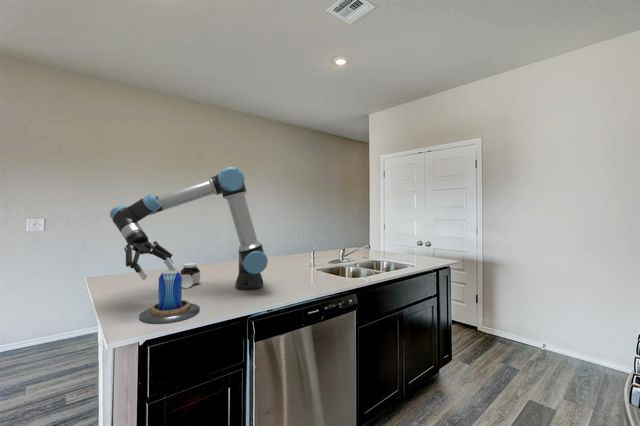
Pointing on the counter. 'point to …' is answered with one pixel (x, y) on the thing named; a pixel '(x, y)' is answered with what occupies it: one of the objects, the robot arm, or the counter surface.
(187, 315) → the collar plate
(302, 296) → the counter surface
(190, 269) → the spread jar
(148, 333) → the counter surface
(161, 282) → the beer can
